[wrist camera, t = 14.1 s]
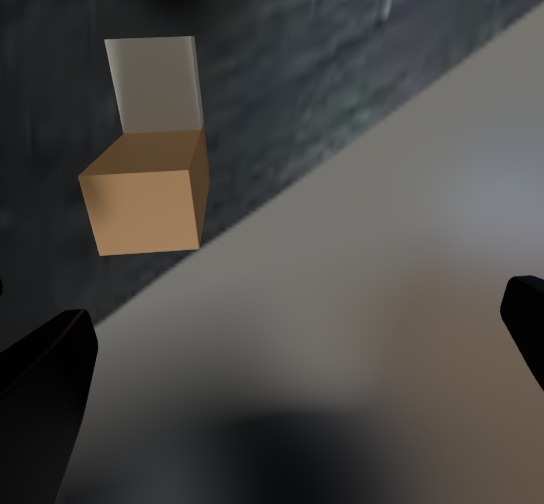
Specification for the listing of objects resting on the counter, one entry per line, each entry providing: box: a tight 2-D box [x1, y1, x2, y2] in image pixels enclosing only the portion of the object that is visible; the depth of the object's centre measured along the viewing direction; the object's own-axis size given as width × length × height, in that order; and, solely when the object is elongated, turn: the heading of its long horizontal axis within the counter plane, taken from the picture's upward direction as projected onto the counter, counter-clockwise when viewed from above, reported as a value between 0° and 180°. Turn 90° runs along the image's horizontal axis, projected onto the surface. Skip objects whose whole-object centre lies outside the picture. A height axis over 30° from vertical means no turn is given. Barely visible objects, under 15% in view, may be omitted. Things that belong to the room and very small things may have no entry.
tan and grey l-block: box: [78, 36, 210, 256], centre depth 11 cm, size 2×5×6 cm, turn 2°
